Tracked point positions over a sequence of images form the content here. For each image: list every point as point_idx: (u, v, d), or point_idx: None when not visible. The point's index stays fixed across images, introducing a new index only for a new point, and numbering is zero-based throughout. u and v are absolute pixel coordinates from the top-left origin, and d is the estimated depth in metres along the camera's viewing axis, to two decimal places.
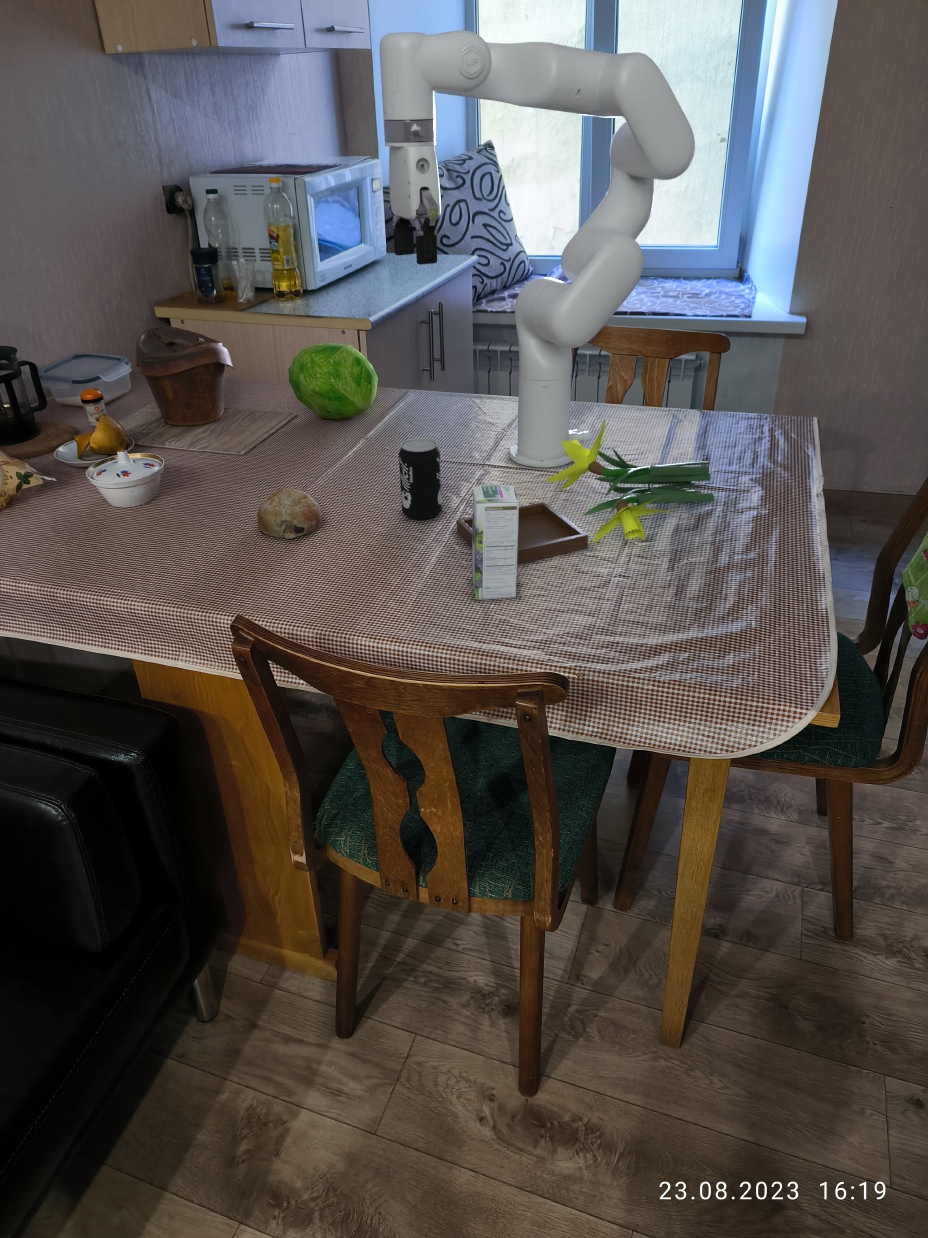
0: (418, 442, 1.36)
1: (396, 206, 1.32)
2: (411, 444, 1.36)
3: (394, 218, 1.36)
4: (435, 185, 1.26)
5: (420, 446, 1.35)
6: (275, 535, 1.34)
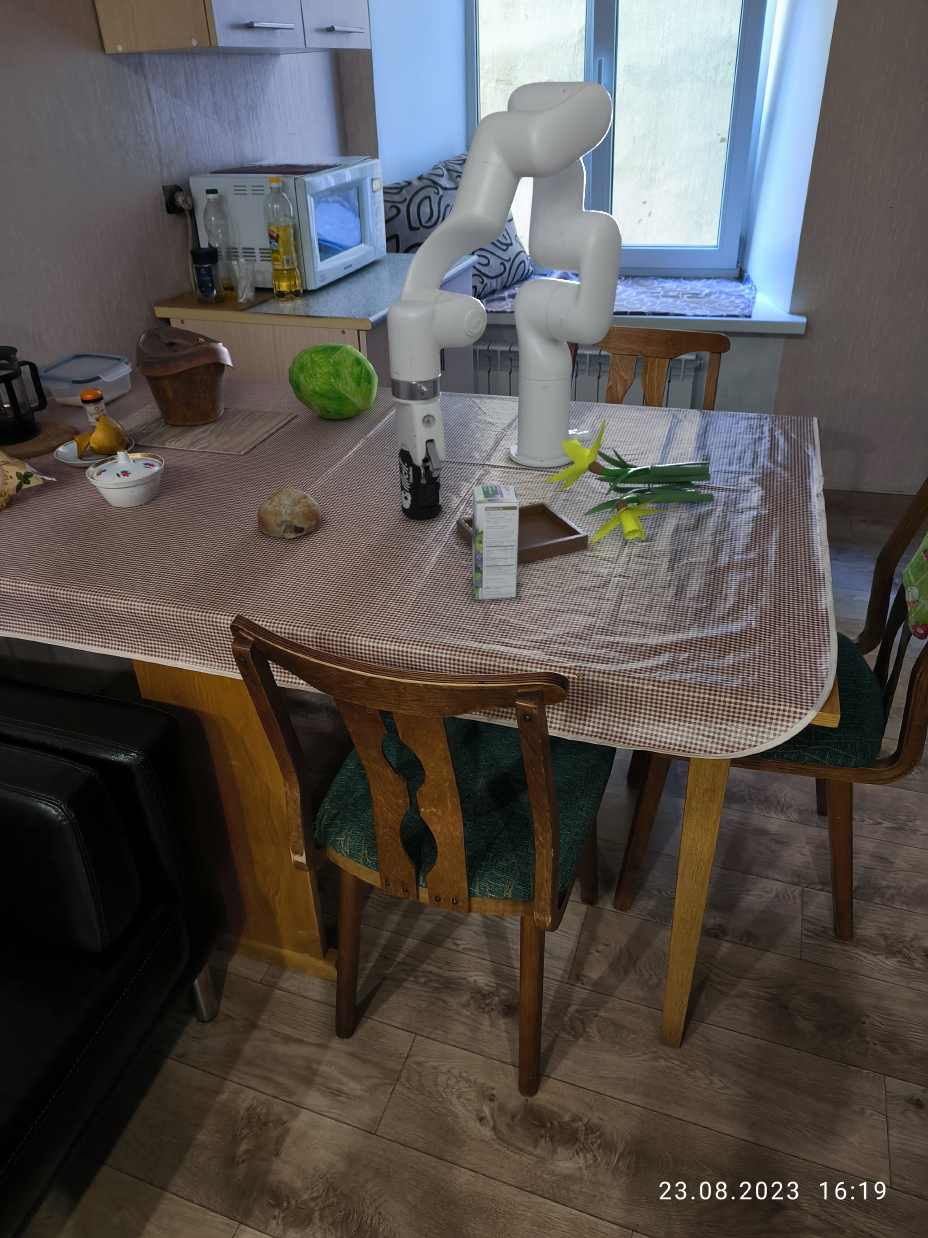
0: None
1: None
2: None
3: None
4: (440, 437, 1.31)
5: None
6: (275, 535, 1.34)
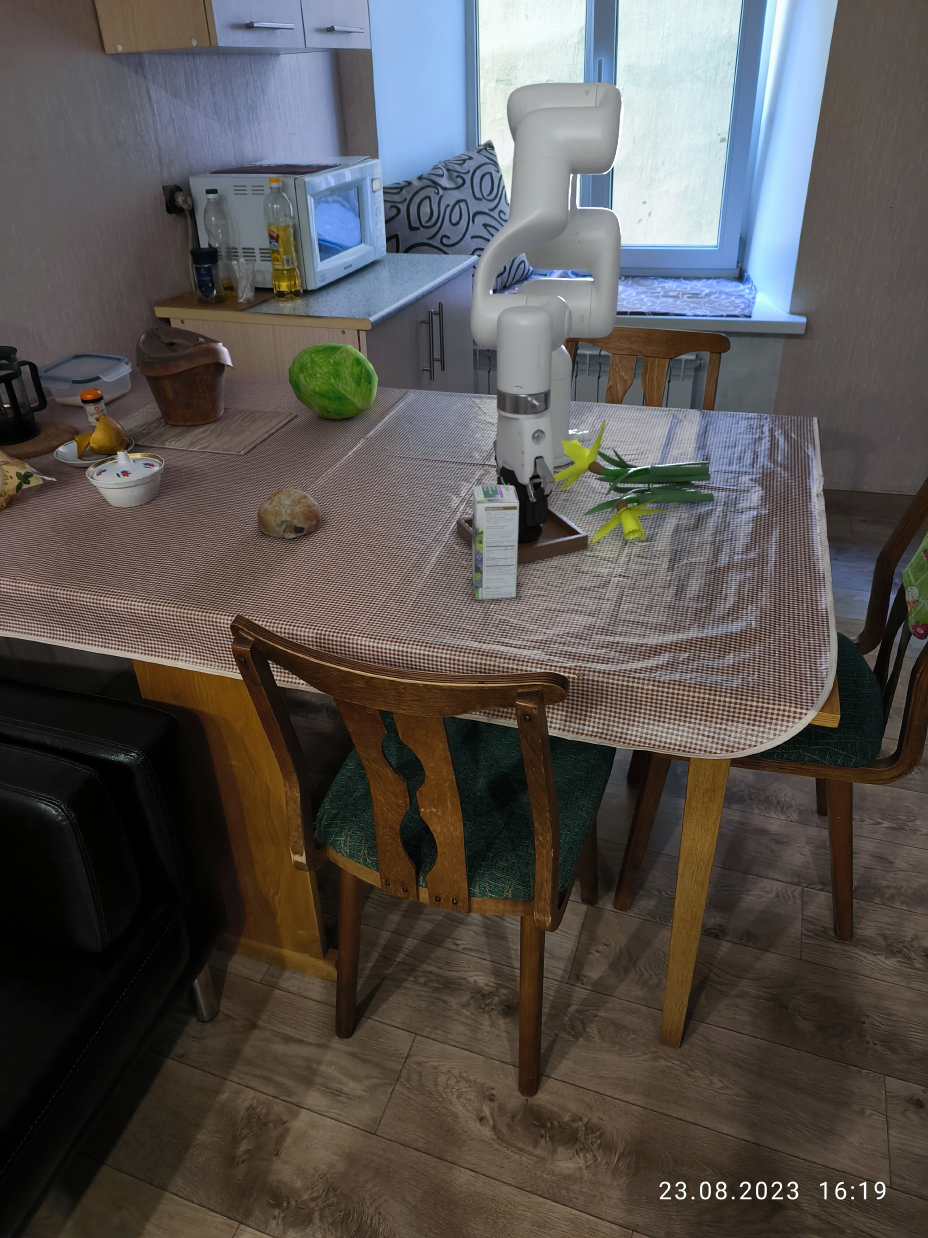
0: None
1: (504, 463, 1.26)
2: None
3: (499, 468, 1.30)
4: (549, 453, 1.21)
5: None
6: (275, 535, 1.34)
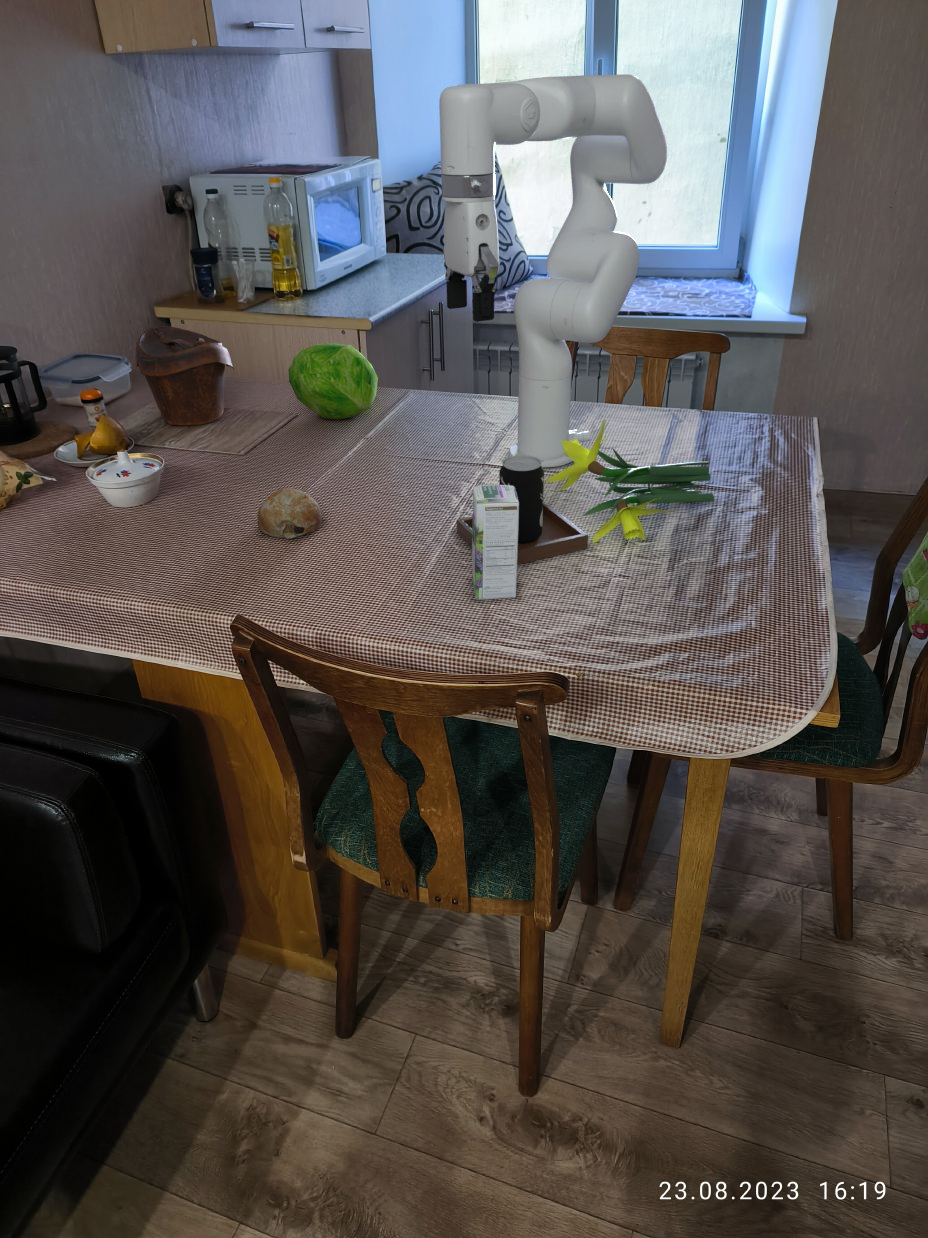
0: (520, 460, 1.27)
1: (451, 260, 1.27)
2: (513, 462, 1.26)
3: (447, 271, 1.31)
4: (494, 241, 1.22)
5: (523, 464, 1.25)
6: (275, 535, 1.34)
